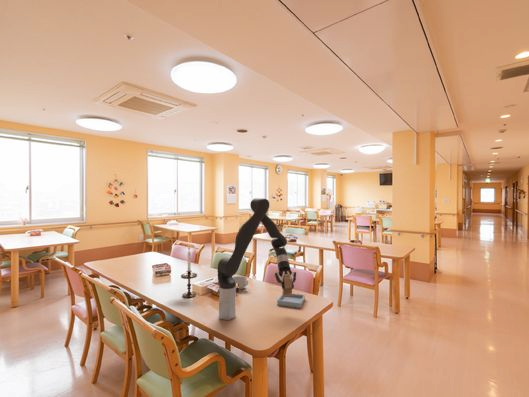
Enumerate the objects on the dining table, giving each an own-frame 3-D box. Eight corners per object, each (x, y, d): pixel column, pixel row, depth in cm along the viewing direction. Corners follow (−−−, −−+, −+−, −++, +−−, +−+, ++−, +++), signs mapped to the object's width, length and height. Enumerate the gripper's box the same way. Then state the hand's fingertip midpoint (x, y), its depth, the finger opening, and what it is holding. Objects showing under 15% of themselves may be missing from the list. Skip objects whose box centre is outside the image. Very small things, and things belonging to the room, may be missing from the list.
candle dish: (300, 308, 163) (300, 303, 163) (277, 304, 168) (277, 300, 168) (305, 299, 177) (305, 294, 177) (283, 296, 182) (283, 292, 182)
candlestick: (192, 299, 178) (192, 247, 177) (177, 297, 180) (177, 246, 180) (199, 293, 188) (199, 244, 188) (185, 292, 190) (185, 243, 190)
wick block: (291, 296, 157) (292, 275, 157) (284, 297, 156) (284, 275, 156) (289, 293, 161) (290, 273, 161) (282, 294, 160) (282, 273, 161)
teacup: (229, 287, 200) (229, 277, 200) (241, 284, 207) (241, 274, 207) (240, 292, 190) (240, 281, 190) (252, 289, 197) (252, 278, 197)
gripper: (273, 260, 165) (277, 286, 153) (295, 259, 167) (301, 285, 156) (271, 267, 170) (275, 292, 158) (292, 266, 173) (298, 291, 161)
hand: (288, 288), depth 157 cm, fingers closed on wick block, 4 cm apart
